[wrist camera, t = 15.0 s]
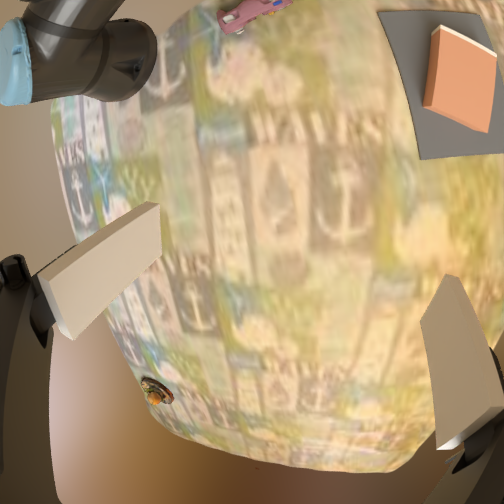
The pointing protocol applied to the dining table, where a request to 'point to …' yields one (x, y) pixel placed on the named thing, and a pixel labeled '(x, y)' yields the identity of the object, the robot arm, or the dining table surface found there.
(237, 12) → the video game controller
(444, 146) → the mat
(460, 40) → the block
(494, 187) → the dining table surface
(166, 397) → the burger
